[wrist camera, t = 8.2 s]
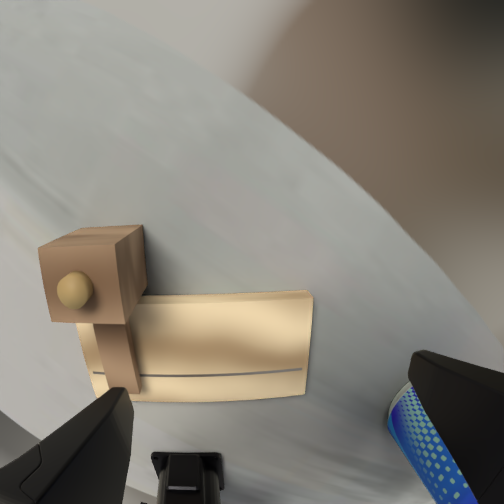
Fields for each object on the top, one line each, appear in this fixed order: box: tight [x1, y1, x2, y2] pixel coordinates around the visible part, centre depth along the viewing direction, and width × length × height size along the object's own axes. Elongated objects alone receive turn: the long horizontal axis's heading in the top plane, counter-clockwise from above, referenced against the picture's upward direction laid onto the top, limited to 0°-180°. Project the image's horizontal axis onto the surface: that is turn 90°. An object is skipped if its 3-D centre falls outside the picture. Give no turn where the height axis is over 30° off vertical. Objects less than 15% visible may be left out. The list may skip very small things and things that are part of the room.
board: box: [76, 290, 313, 402], centre depth 21 cm, size 8×16×2 cm, turn 90°
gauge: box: [38, 225, 148, 394], centre depth 17 cm, size 11×4×7 cm, turn 0°
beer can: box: [387, 381, 478, 504], centre depth 18 cm, size 8×8×16 cm
